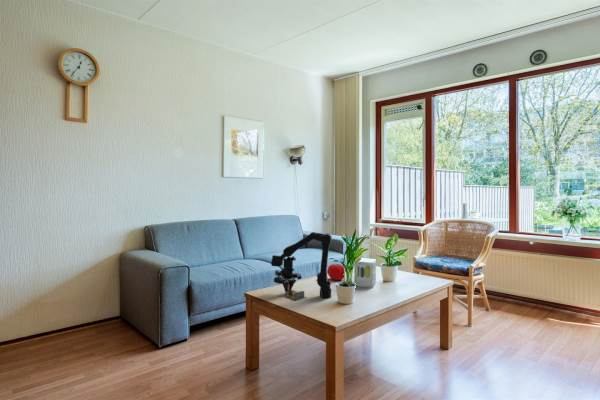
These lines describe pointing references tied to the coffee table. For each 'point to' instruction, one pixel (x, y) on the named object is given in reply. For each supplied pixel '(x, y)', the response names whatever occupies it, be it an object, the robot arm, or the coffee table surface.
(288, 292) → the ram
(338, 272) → the tomato
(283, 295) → the beige mounting plate
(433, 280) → the coffee table surface
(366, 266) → the supplement box
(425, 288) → the coffee table surface
